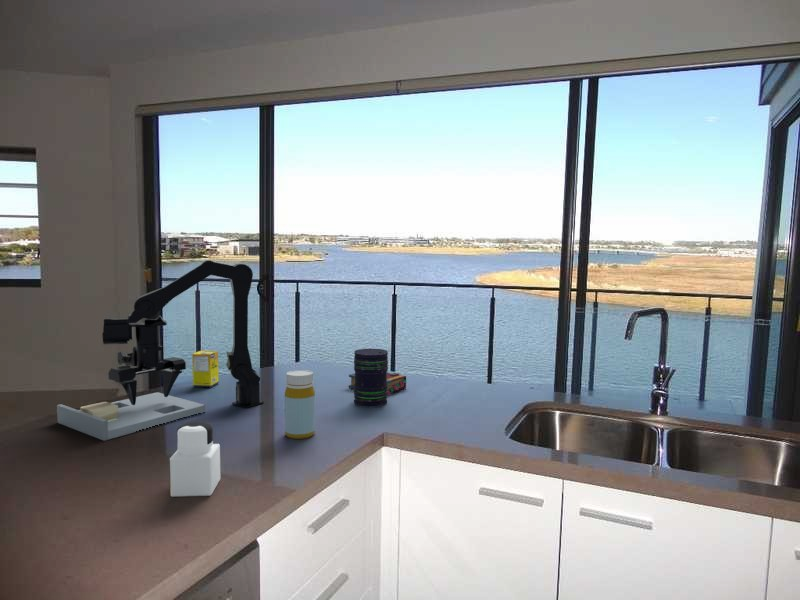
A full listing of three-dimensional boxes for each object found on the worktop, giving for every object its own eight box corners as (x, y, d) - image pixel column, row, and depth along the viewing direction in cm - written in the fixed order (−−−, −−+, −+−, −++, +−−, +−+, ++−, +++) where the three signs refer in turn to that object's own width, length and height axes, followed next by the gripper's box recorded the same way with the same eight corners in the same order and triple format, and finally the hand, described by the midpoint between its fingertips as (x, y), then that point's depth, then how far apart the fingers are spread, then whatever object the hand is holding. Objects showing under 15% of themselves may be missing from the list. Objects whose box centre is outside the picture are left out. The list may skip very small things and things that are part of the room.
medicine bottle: (182, 480, 103) (180, 418, 102) (220, 479, 103) (219, 418, 102) (169, 497, 96) (167, 431, 94) (211, 496, 96) (209, 430, 95)
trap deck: (205, 412, 145) (205, 395, 145) (104, 440, 123) (103, 421, 122) (157, 398, 157) (157, 383, 157) (57, 422, 135) (56, 405, 135)
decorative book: (371, 381, 182) (371, 367, 182) (409, 389, 173) (410, 374, 172) (348, 388, 173) (348, 373, 173) (387, 397, 164) (388, 381, 163)
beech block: (118, 417, 133) (117, 405, 133) (93, 423, 129) (93, 411, 128) (105, 413, 137) (105, 401, 137) (80, 419, 132) (80, 407, 132)
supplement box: (219, 383, 176) (218, 350, 175) (210, 388, 170) (210, 354, 169) (201, 383, 177) (200, 350, 176) (192, 387, 171) (192, 353, 170)
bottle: (319, 431, 131) (319, 371, 129) (305, 441, 124) (305, 377, 123) (294, 428, 133) (294, 368, 132) (279, 437, 126) (278, 374, 125)
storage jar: (347, 404, 154) (347, 353, 153) (362, 396, 163) (363, 347, 162) (379, 408, 150) (379, 356, 149) (393, 400, 159) (393, 350, 158)
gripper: (162, 335, 154) (164, 388, 156) (95, 344, 139) (98, 403, 140) (186, 339, 148) (188, 394, 150) (119, 349, 133) (121, 411, 134)
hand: (150, 400), depth 143 cm, fingers open, 9 cm apart
